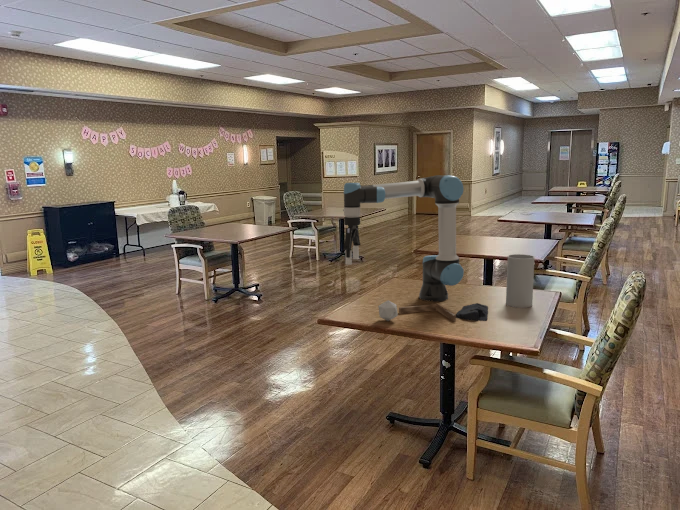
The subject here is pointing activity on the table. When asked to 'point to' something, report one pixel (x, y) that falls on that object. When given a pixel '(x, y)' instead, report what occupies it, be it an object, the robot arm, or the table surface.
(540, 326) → the table surface
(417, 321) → the table surface
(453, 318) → the rest corner
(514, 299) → the cylinder vase
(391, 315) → the die
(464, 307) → the dark slate chunk
